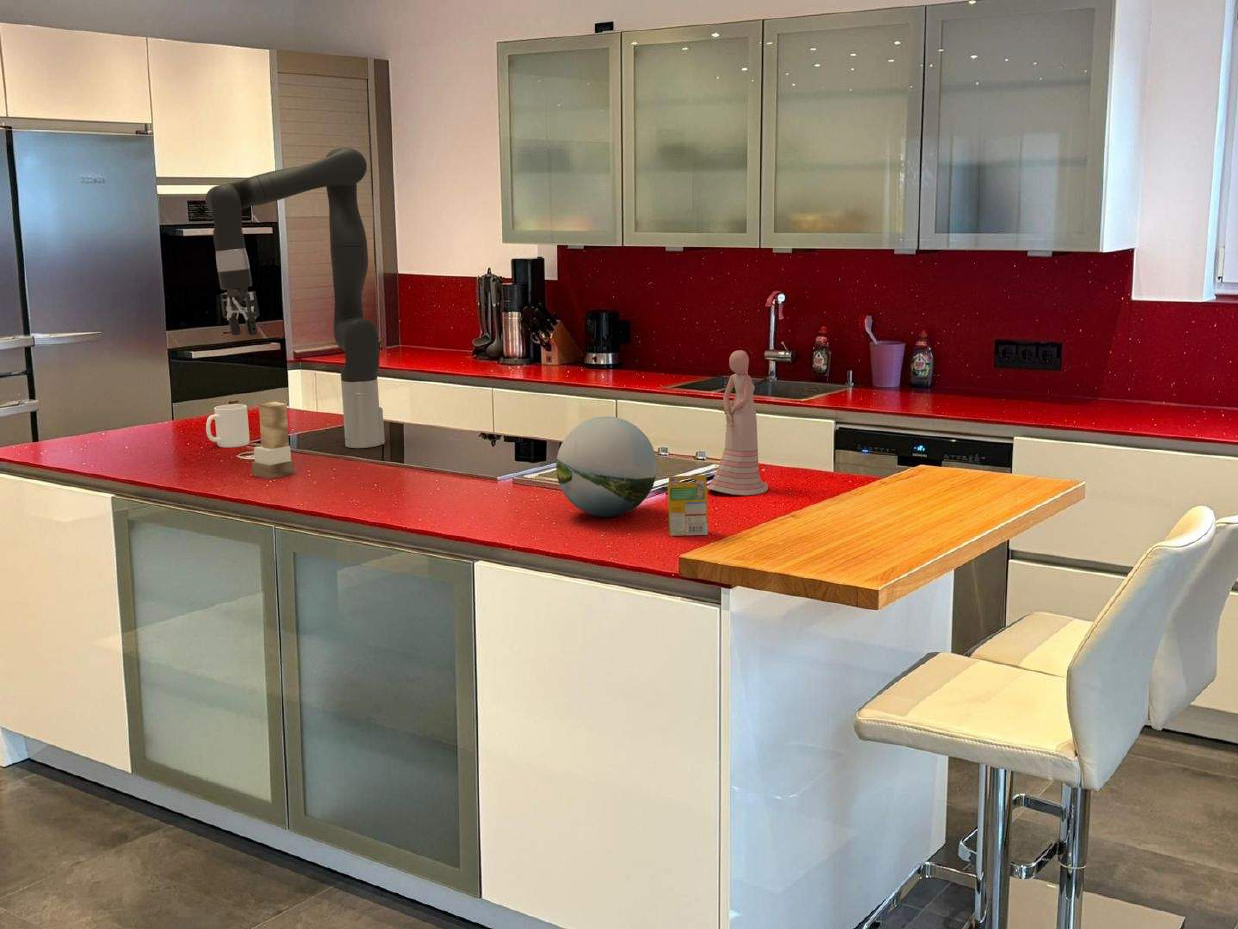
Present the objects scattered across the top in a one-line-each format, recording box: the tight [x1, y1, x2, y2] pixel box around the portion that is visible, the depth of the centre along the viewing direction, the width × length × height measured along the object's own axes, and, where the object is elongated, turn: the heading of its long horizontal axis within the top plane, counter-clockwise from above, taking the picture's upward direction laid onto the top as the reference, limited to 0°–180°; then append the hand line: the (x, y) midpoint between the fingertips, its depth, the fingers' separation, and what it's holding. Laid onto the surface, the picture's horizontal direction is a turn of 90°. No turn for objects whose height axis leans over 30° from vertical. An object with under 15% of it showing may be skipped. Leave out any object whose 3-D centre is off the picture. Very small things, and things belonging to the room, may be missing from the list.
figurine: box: [707, 349, 769, 496], centre depth 287 cm, size 13×13×30 cm
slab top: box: [253, 445, 292, 465], centre depth 317 cm, size 6×6×4 cm
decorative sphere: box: [555, 416, 658, 518], centre depth 269 cm, size 20×20×20 cm
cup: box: [205, 403, 251, 449], centre depth 355 cm, size 8×12×10 cm
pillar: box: [258, 401, 290, 449], centre depth 317 cm, size 4×4×10 cm
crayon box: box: [667, 474, 709, 538], centre depth 254 cm, size 7×3×12 cm, turn 92°
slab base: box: [251, 459, 296, 480], centre depth 318 cm, size 7×7×4 cm
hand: (244, 334), depth 331 cm, fingers open, 8 cm apart
